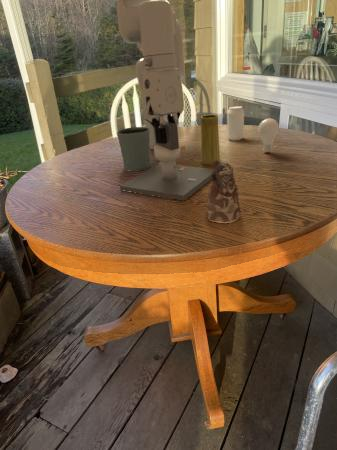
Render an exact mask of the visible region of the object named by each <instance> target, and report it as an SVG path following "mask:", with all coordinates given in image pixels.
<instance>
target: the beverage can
mask: <svg viewBox="0 0 337 450" xmlns="http://www.w3.org/2000/svg"><path fill="white" fill-rule="evenodd" d="M226 115H227V120H226V122H227V123H226V124H227V125H226V127H227V130H226V131H227V139H228V140H230V141H233V142H234V141H241V140H242V139H244V135H245V132H244V130H245V129H244V128H245V111H244V109H243V105H242V106H241V105H236V106H235V105H234V106H233V105H232V106H230V107H228V111H227V112H226Z"/></svg>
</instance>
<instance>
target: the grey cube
mask: <svg viewBox="0 0 337 450" xmlns="http://www.w3.org/2000/svg"><path fill="white" fill-rule="evenodd" d="M163 128H165V133H166V144H160V143H157V142H156V134H155V128H154V134H155V143H156V144H157V145H156V146H154V149H153V151H154V159H155V161H159V162H161V161H171V160H175V159H176V160H178V159H180V158H181V157H182V153H181V152H184V151H186V146H185V145H181V144H180V143H179V132H178V131H179V130H178V129H179V127H178V124H174V123H170V122H166V121H163Z"/></svg>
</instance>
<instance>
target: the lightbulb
mask: <svg viewBox="0 0 337 450" xmlns="http://www.w3.org/2000/svg"><path fill="white" fill-rule="evenodd" d="M257 131H258V135H259V136H260V137H261V140H262V141H261V142H262V144H263V152H264V153H265V154H269V153H271V152H272V149H273V148H272V147H273V143H274V139H275V138H276V137H277V135H278V134H279V131H280V125H279V122H278V121H277V120H276V119H274V118H271V117H270V118H269V117H268V118H265V119H263V120H261V122H260V123H259V125H258V129H257Z"/></svg>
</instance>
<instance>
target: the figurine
mask: <svg viewBox="0 0 337 450" xmlns="http://www.w3.org/2000/svg"><path fill="white" fill-rule="evenodd" d="M212 166H213V169H214V171H213V172H212V174H211V177H212V179H211V182H212V184H211V186H210V187H209V189H208V193H207V198H206V200H207V201H206V212H205V214H206V218H207V217H208V218H207V220H208V219H210V220H213V221H221V222H230V221H234V220H236V219H237V218H238V217H239V216H240V215H241V206H240V200H239V189H238V188H239V185H238V184H236V179H235V175H234V167H233V166H232V165H230V164H229V163H227V162H219V163H218V161H217V160H215V161H213V165H212ZM240 217H241V216H240Z"/></svg>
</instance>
